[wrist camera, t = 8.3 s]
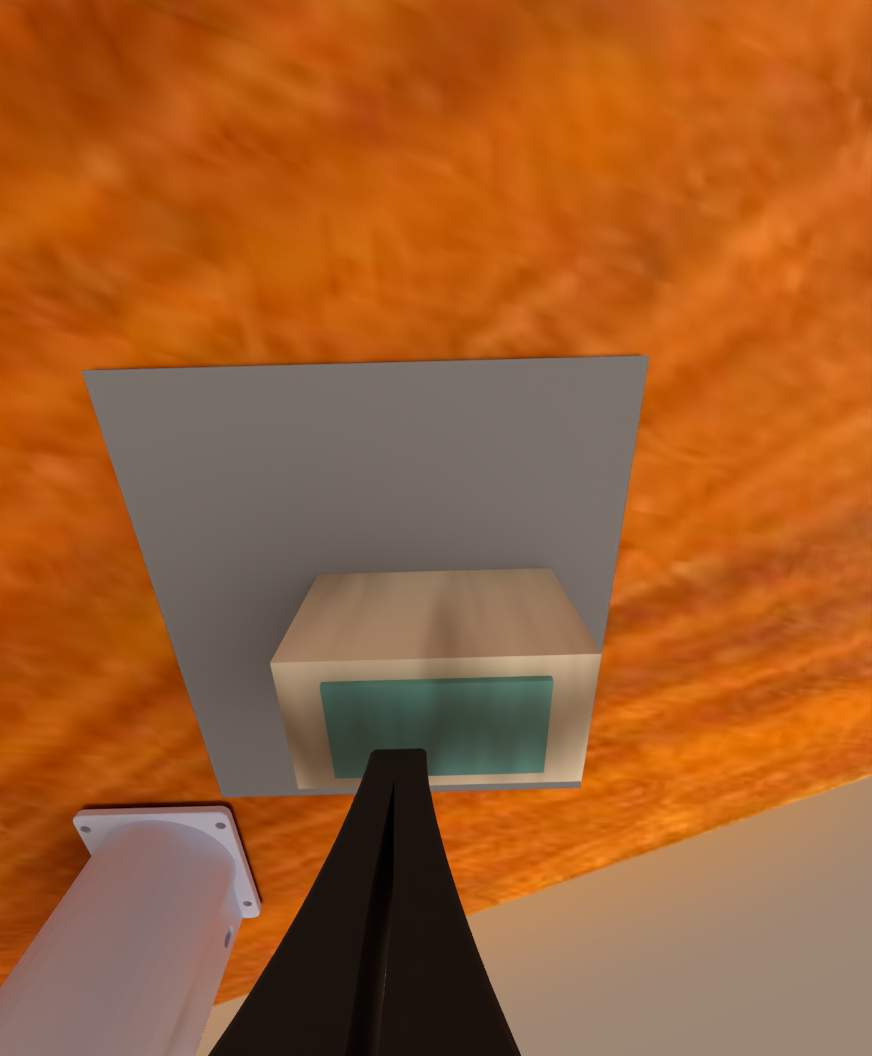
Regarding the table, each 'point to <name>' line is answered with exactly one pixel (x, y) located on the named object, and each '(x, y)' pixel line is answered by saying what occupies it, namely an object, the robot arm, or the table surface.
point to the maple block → (438, 677)
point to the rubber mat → (356, 504)
